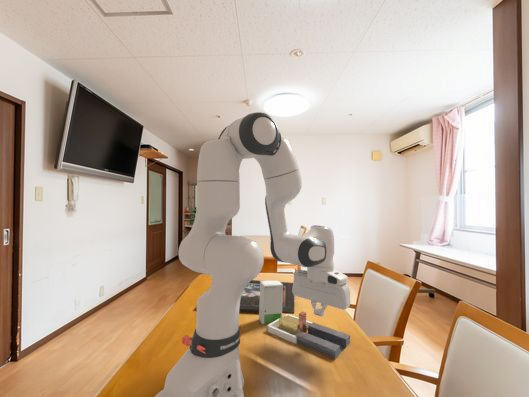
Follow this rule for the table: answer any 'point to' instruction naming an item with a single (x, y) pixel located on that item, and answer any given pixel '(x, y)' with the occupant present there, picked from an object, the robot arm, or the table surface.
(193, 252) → the robot arm
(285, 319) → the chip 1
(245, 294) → the religious icon
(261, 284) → the skincare box
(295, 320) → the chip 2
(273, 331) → the tray
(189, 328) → the table surface
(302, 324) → the copper metal bar
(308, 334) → the slot bed
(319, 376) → the table surface
